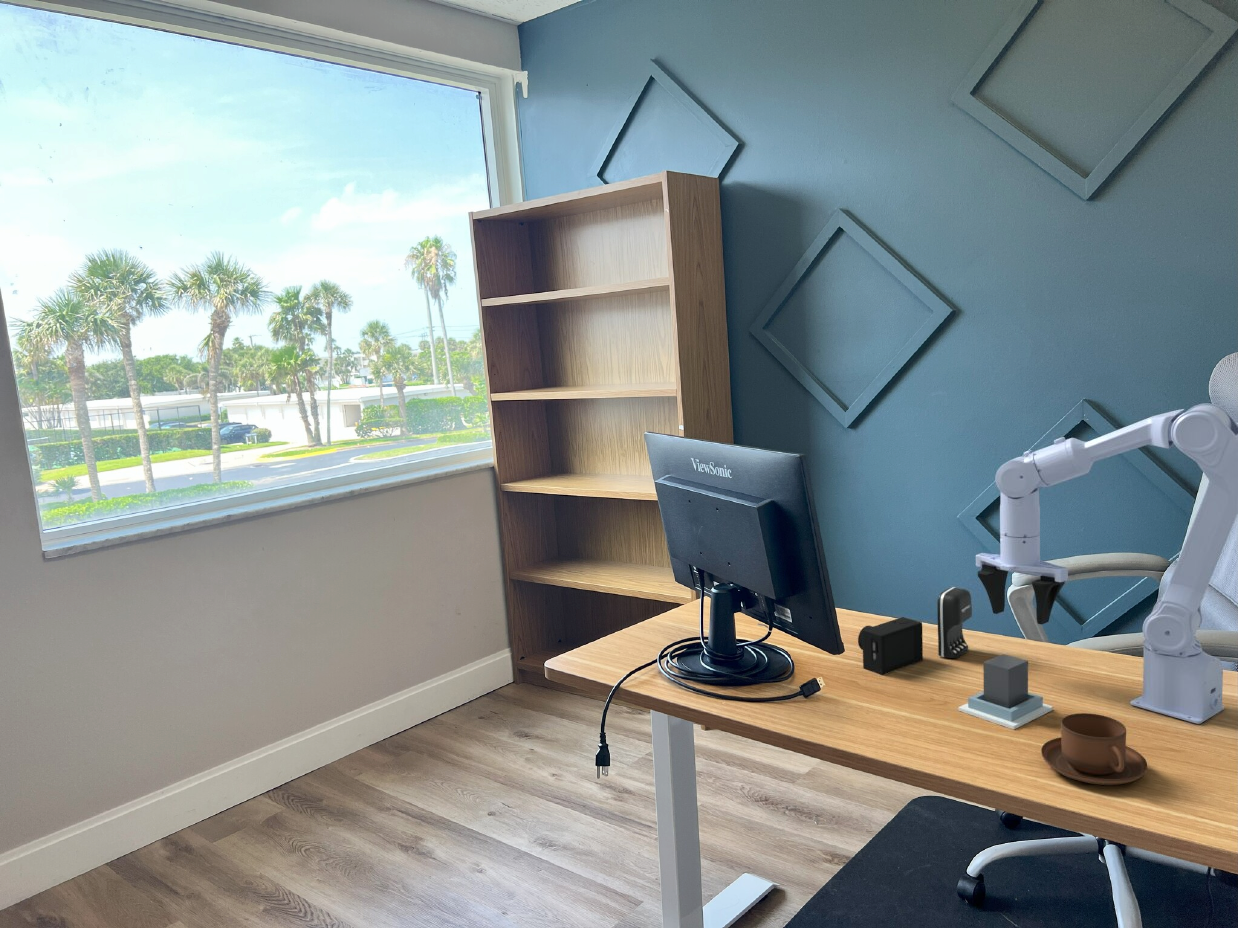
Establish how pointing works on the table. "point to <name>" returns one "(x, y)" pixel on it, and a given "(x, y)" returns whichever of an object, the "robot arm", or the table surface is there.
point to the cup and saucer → (1094, 751)
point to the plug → (1005, 681)
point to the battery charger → (952, 621)
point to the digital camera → (891, 645)
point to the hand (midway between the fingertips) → (1020, 617)
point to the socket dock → (1006, 710)
